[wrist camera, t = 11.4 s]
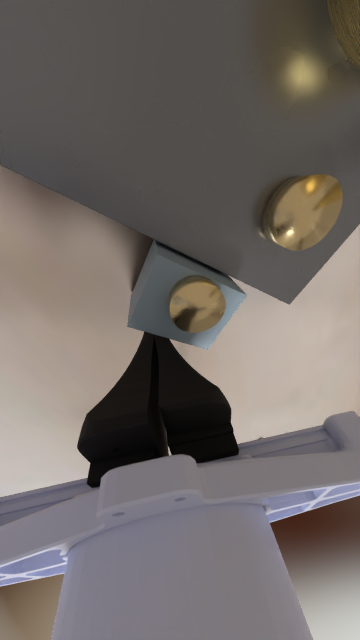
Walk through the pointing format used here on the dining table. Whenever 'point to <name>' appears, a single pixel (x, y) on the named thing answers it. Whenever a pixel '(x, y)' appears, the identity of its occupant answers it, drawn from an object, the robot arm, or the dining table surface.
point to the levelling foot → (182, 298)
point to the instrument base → (194, 123)
